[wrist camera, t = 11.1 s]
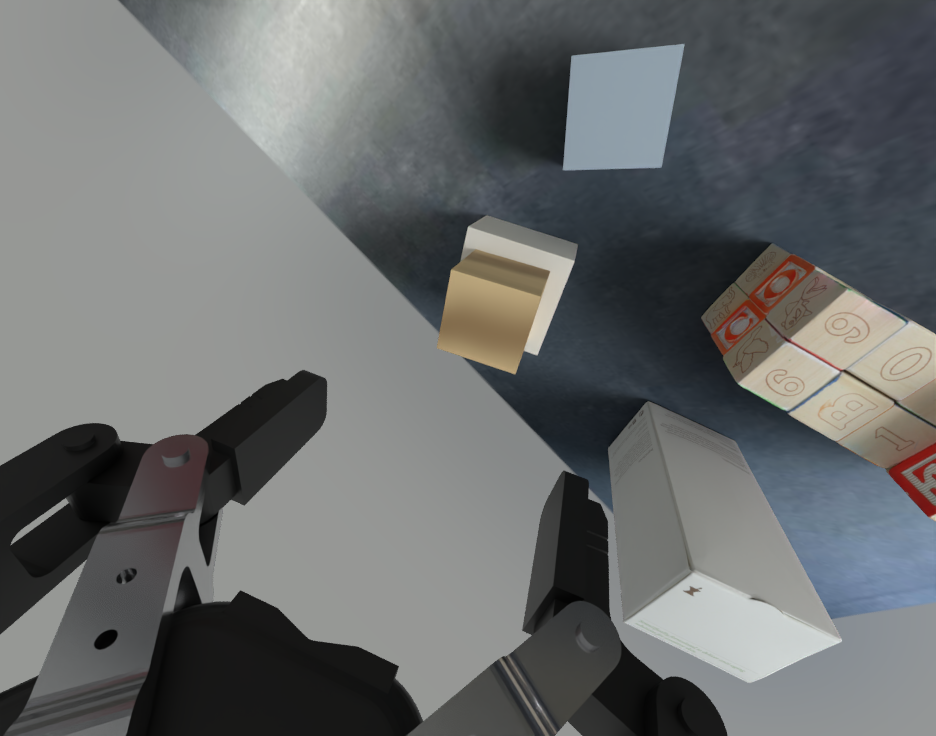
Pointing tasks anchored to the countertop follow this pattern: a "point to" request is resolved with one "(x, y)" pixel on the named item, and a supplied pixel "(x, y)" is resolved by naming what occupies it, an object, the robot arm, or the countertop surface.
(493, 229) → the base block
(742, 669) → the skincare box
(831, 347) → the stack of blocks
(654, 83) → the slate cube
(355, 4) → the countertop surface
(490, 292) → the maple cube
